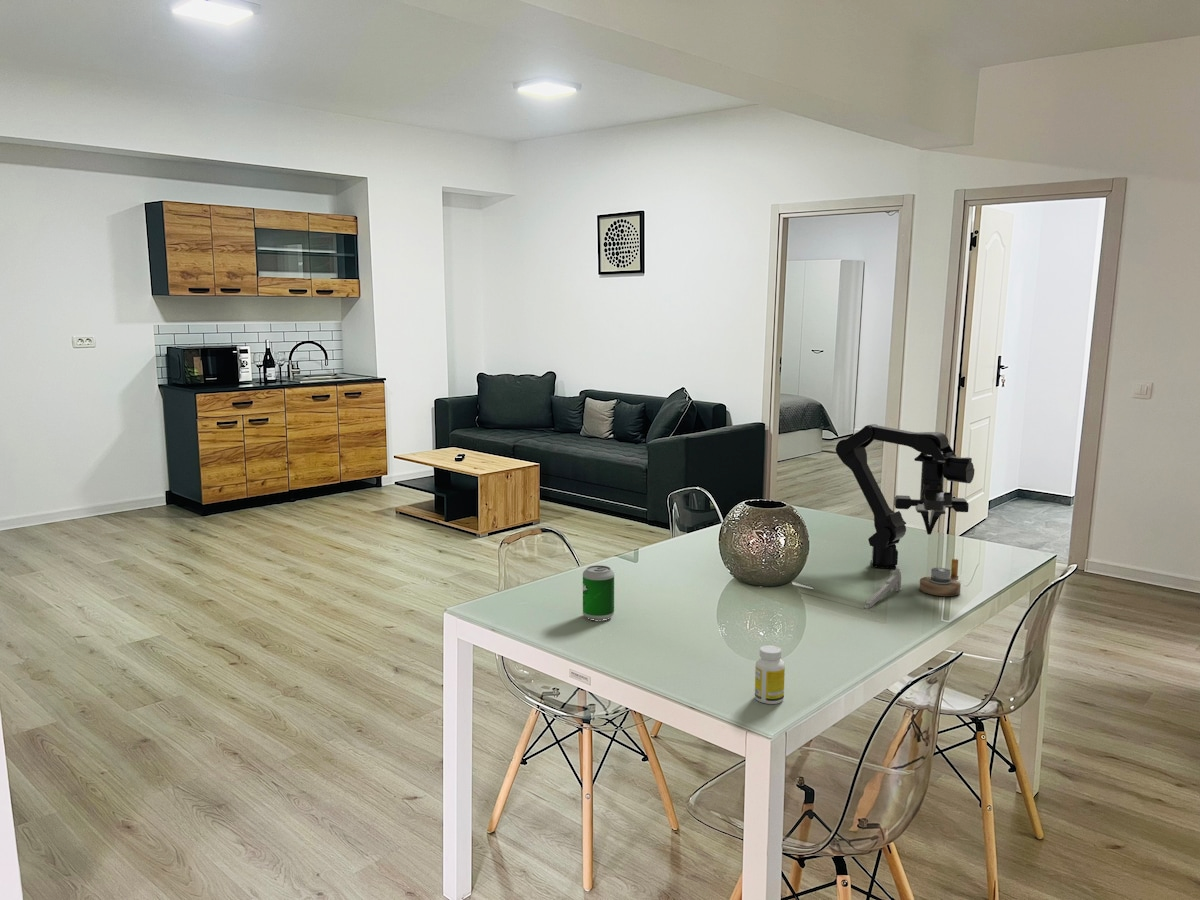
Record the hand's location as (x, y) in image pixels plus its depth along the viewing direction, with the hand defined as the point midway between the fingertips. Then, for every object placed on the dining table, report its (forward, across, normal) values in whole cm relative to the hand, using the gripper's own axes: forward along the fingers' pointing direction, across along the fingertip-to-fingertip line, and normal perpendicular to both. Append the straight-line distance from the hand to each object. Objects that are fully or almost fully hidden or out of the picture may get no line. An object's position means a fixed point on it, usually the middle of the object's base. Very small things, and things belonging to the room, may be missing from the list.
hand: (928, 534), depth 246 cm
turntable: (+11, +3, -14) cm, 18 cm away
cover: (+9, +2, -15) cm, 18 cm away
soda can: (+12, -80, -55) cm, 98 cm away
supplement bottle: (+12, -38, -92) cm, 101 cm away
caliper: (+12, -13, -25) cm, 31 cm away
